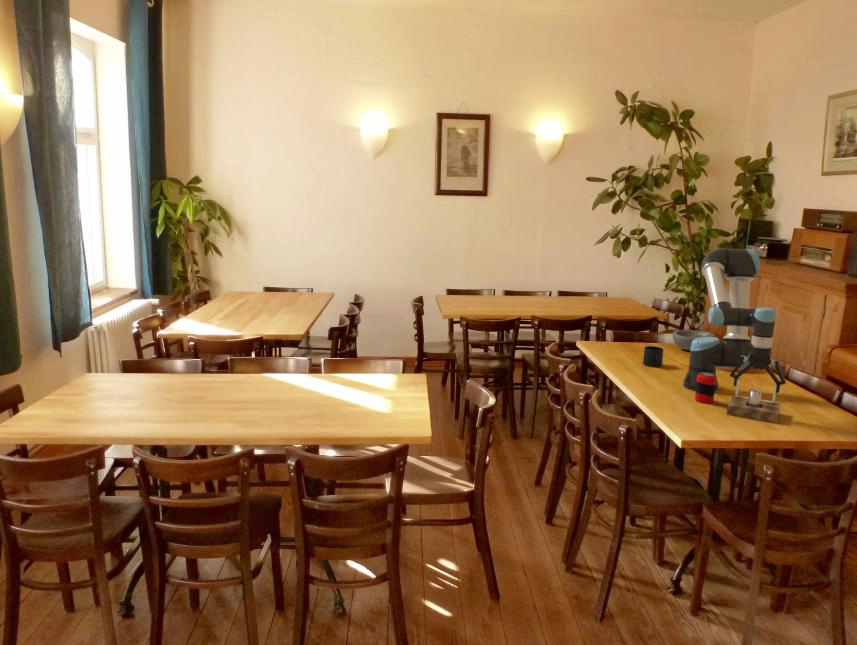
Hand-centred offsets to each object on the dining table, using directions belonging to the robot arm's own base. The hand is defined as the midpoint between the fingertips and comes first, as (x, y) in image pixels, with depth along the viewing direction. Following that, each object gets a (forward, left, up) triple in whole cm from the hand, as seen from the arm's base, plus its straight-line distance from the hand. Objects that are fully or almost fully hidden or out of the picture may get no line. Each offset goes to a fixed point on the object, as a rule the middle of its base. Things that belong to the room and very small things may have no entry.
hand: (755, 397), depth 268 cm
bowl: (-43, +107, -7) cm, 115 cm away
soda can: (-20, +7, -7) cm, 22 cm away
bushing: (0, 0, -7) cm, 7 cm away
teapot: (-20, +75, -7) cm, 78 cm away
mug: (-53, +56, -7) cm, 77 cm away
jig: (0, 0, -7) cm, 7 cm away
